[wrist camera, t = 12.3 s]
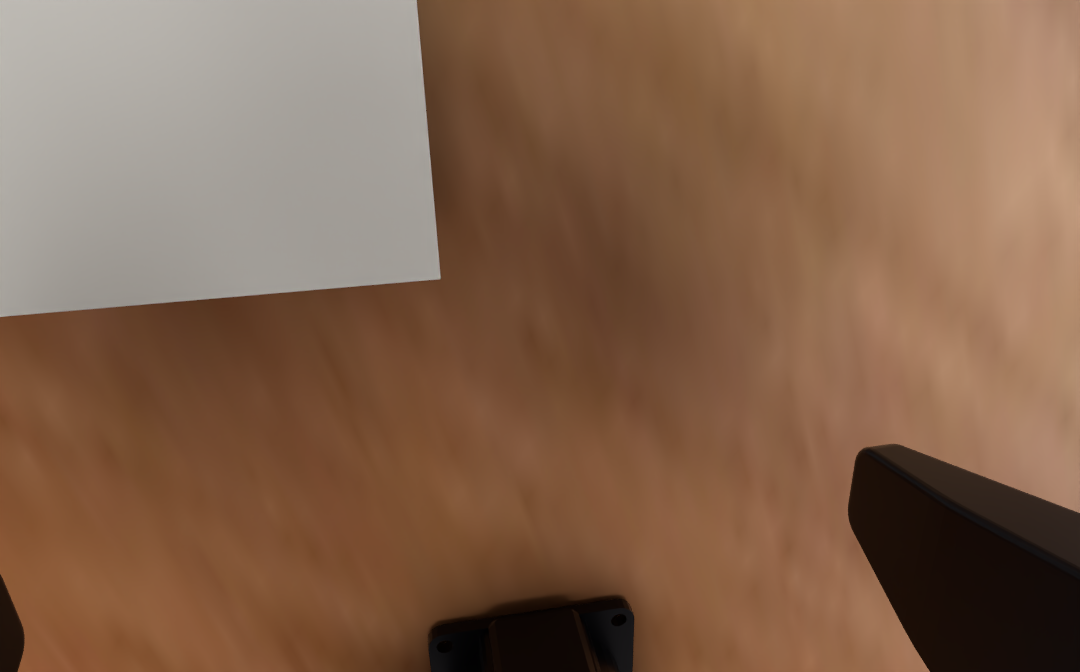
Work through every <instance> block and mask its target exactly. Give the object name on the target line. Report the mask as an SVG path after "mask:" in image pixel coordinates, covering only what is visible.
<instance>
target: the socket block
mask: <svg viewBox="0 0 1080 672" xmlns="http://www.w3.org/2000/svg"><path fill="white" fill-rule="evenodd" d="M437 279H441V276H440V265H439V253H438V242H437V230H436V219H435V207H434V196H433V184H432V172H431V161H430V149H429V138H428V126H427V115H426V103H425V92H424V80H423V69H422V57H421V45H420V34H419V22H418V11H417V0H0V317H4V316H15V315H27V314H39V313H50V312H62V311H74V310H86V309H97V308H109V307H121V306H132V305H144V304H156V303H168V302H179V301H191V300H203V299H214V298H226V297H238V296H249V295H261V294H273V293H285V292H296V291H308V290H320V289H331V288H343V287H355V286H366V285H378V284H390V283H402V282H413V281H425V280H437Z"/></svg>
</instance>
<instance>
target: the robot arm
mask: <svg viewBox="0 0 1080 672" xmlns="http://www.w3.org/2000/svg"><path fill="white" fill-rule="evenodd" d="M848 517H849V522H850V525H851V528H852V530H853V532H854V534H855V536H856V538H857V540H858V542H859V544H860V546H861V547H862V549H863V551H864V553H865V555H866V557H867V559H868V561H869V563H870V565H871V567H872V568H873V570H874V572H875V574H876V576H877V578H878V580H879V582H880V584H881V586H882V588H883V589H884V591H885V593H886V595H887V597H888V599H889V601H890V603H891V605H892V607H893V609H894V610H895V612H896V614H897V616H898V618H899V620H900V622H901V624H902V626H903V628H904V629H905V631H906V633H907V635H908V636H909V638H910V640H911V642H912V644H913V645H914V647H915V649H916V650H917V652H918V653H919V655H920V657H921V658H922V660H923V661H924V663H925V665H926V666H927V668H928V669H929V671H930V672H1080V513H1078V512H1075V511H1072V510H1070V509H1067V508H1065V507H1062V506H1059V505H1057V504H1054V503H1051V502H1049V501H1046V500H1044V499H1041V498H1038V497H1036V496H1033V495H1030V494H1028V493H1025V492H1023V491H1020V490H1017V489H1015V488H1012V487H1009V486H1007V485H1004V484H1002V483H999V482H996V481H994V480H991V479H988V478H986V477H983V476H980V475H978V474H975V473H973V472H970V471H967V470H965V469H962V468H959V467H957V466H954V465H952V464H949V463H946V462H944V461H941V460H938V459H936V458H933V457H931V456H928V455H925V454H923V453H920V452H917V451H915V450H912V449H910V448H907V447H904V446H902V445H898V444H887V445H880V446H873V447H866V448H864V449H862V450H861V451H860V452H859V453H858V455H857V456H856V460H855V465H854V471H853V478H852V484H851V491H850V497H849V503H848ZM618 614H621V615H620V616H617V617H614V616H615V615H618ZM633 637H634V615H633V612H632V609H631V607H630V604H629V603H628V602H627V601H625V600H623V599H613V600H607V601H600V602H593V603H586V604H580V605H573V606H566V607H560V608H553V609H546V610H539V611H533V612H526V613H519V614H512V615H506V616H499V617H492V618H486V619H479V620H472V621H465V622H459V623H452V624H445V625H441V626H437V627H436V628H434V629H433V630H432V631H431V632H430V633H429V636H428V647H429V657H430V665H431V672H632V668H633ZM444 640H445V641H449V642H446V643H440V642H441V641H444ZM23 651H24V631H23V627H22V624H21V621H20V619H19V616H18V614H17V612H16V609H15V607H14V604H13V602H12V600H11V597H10V595H9V593H8V590H7V588H6V585H5V583H4V581H3V578H2V576H1V575H0V672H18V668H19V665H20V662H21V658H22V655H23Z"/></svg>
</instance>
